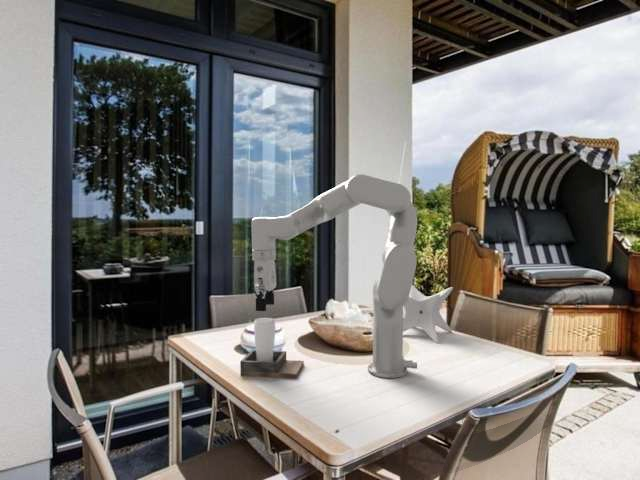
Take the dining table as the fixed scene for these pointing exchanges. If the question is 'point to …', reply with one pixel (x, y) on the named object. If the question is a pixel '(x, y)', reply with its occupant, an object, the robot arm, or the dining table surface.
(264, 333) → the white cup
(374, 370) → the robot arm
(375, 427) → the dining table surface
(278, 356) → the open box
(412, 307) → the grey spiky star shape
